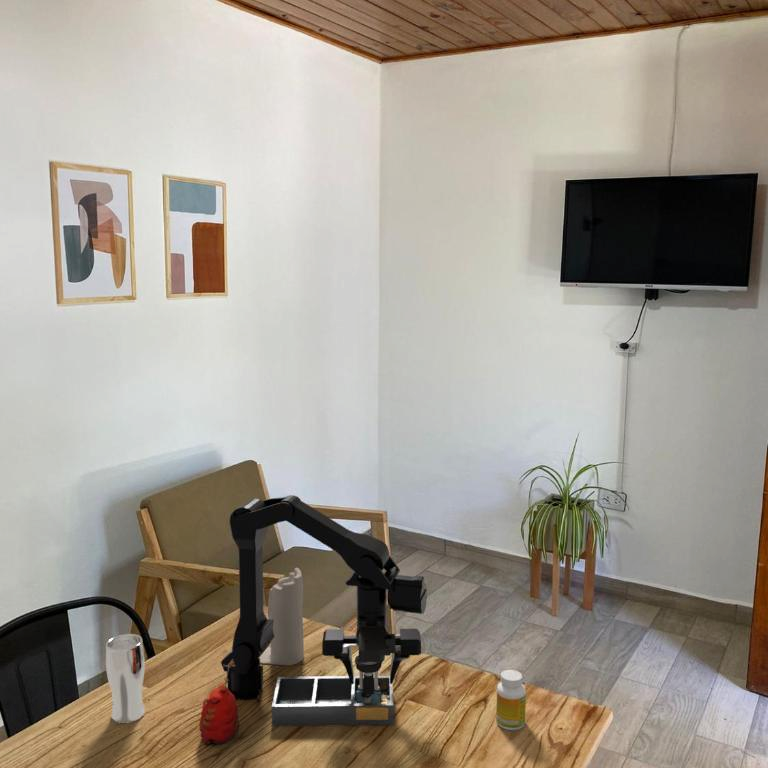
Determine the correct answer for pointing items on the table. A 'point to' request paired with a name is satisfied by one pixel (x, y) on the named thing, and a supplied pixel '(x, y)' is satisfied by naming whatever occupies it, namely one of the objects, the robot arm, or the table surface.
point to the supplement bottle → (511, 701)
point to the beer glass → (126, 676)
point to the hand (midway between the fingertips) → (371, 683)
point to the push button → (369, 683)
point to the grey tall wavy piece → (286, 621)
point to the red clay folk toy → (219, 715)
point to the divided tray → (328, 702)
